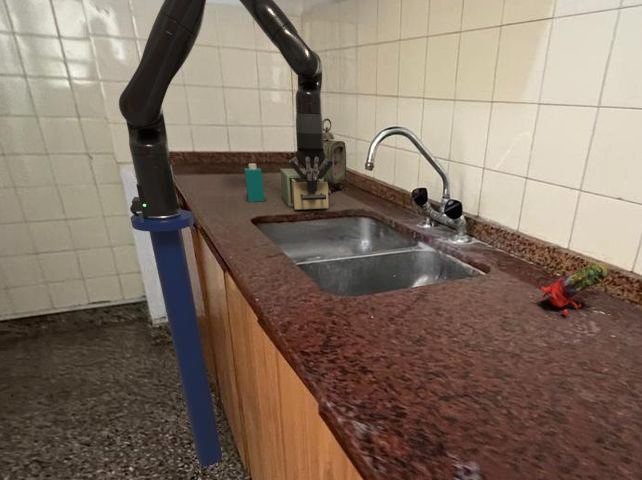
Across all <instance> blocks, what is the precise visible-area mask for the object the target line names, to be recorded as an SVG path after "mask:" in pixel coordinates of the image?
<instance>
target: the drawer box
mask: <svg viewBox="0 0 642 480" xmlns="http://www.w3.org/2000/svg"><path fill="white" fill-rule="evenodd" d="M298 168H299V169H300V170H301V171H302V173H303V174H305V168H304V167H303V168H302V167H301V168H300V167H298ZM311 169H312V168H311ZM318 173H319V171H318ZM318 173H317V174H318ZM289 178H301V177H300V176H299V175H298V173H297V172H296V171H295V170H294V168H280V181H281V193H282V199H283V201H284V202H285V203H286V204H287V206H288V207H290V208H291V207H294V204H293V202H292V201H291V194H290V179H289ZM311 178H312V170H311ZM321 180H322V181H323V182H324V177H323V178H321Z"/></svg>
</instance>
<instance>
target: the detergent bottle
mask: <svg viewBox="0 0 642 480" xmlns="http://www.w3.org/2000/svg"><path fill="white" fill-rule="evenodd" d="M247 166H248V167H244V179H245V187H246V195H247V196H246V197H247V201H248V203H254V202H255V203H256V202H265V194H264V193H265V192H264V181H263V172H262V168H260V167H257V163H248V165H247Z"/></svg>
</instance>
